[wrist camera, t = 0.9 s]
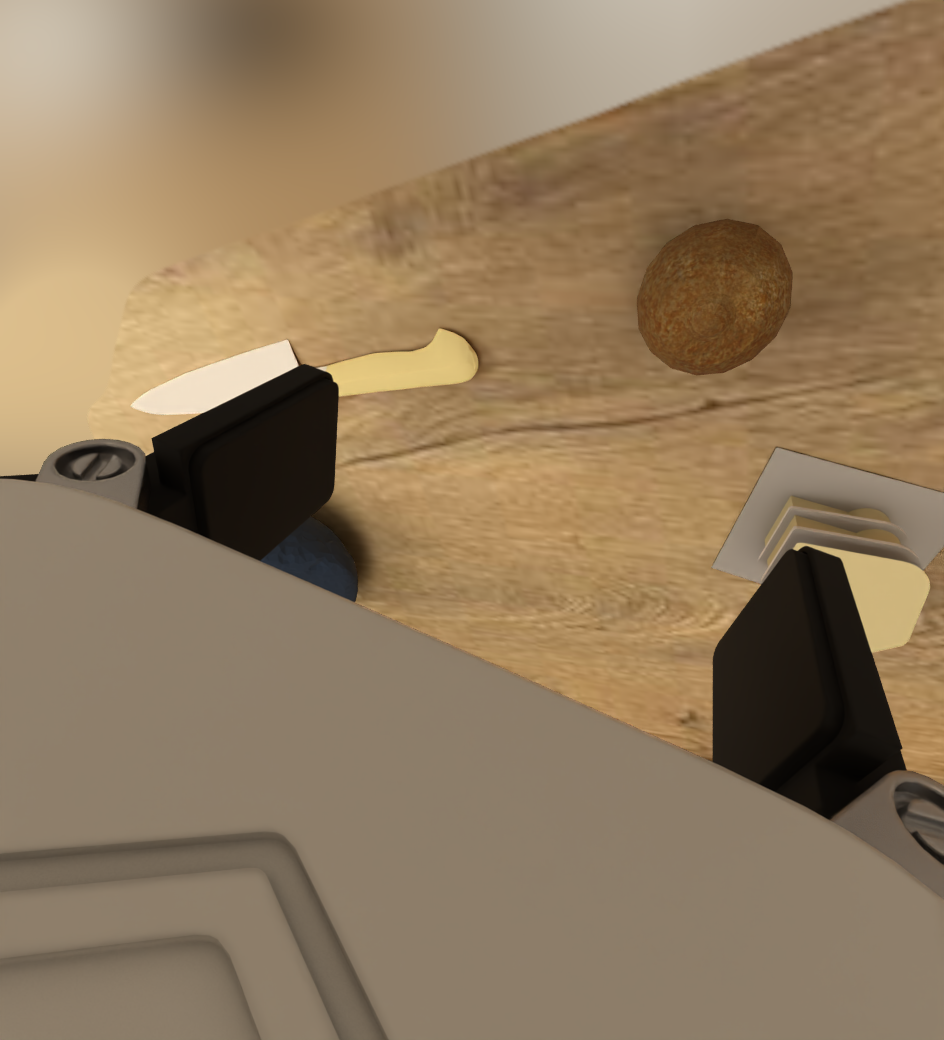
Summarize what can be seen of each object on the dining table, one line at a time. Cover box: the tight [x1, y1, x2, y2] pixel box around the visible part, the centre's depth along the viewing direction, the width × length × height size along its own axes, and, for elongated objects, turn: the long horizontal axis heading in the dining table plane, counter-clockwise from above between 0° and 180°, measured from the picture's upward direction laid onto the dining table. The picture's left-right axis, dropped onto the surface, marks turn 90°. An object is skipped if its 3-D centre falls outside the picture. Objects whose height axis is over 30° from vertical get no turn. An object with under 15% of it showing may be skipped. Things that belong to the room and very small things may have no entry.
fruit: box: [637, 219, 792, 375], centre depth 24 cm, size 6×6×8 cm
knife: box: [131, 328, 478, 415], centre depth 39 cm, size 1×33×4 cm
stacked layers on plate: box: [712, 447, 944, 653], centre depth 29 cm, size 10×9×6 cm
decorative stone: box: [260, 517, 358, 602], centre depth 44 cm, size 12×12×10 cm
